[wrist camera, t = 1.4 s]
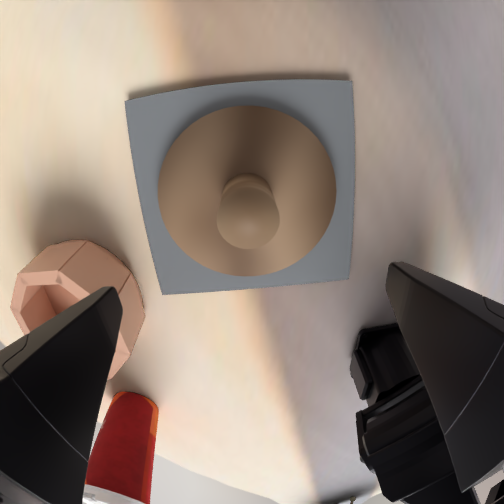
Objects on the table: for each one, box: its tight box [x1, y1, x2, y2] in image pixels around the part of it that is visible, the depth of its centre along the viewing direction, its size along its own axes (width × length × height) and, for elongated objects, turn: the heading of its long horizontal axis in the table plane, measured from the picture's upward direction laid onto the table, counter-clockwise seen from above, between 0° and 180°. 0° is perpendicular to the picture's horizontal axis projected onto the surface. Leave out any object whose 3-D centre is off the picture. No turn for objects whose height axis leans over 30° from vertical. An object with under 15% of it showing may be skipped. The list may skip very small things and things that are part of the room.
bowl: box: [10, 240, 145, 380], centre depth 20 cm, size 10×10×5 cm
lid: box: [158, 106, 337, 277], centre depth 16 cm, size 11×11×5 cm
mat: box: [125, 79, 355, 295], centre depth 19 cm, size 14×14×1 cm
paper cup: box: [83, 392, 158, 504], centre depth 23 cm, size 8×8×14 cm
